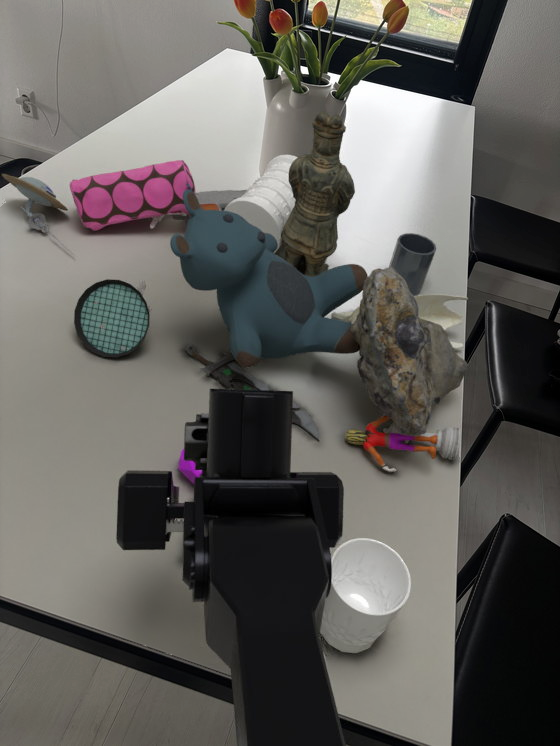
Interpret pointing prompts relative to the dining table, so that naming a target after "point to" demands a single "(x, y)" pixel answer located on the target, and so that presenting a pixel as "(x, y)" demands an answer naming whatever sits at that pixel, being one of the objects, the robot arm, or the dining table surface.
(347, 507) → the dining table surface
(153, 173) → the pencil case
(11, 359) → the dining table surface
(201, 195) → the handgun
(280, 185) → the decorative container
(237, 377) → the sword
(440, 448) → the chess piece
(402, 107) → the dining table surface
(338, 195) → the statue
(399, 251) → the pencil cup
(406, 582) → the white cup
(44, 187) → the toy
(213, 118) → the dining table surface
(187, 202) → the stuffed animal
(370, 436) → the toy figure
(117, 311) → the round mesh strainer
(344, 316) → the clam shell
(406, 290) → the rock
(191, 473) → the crystal
